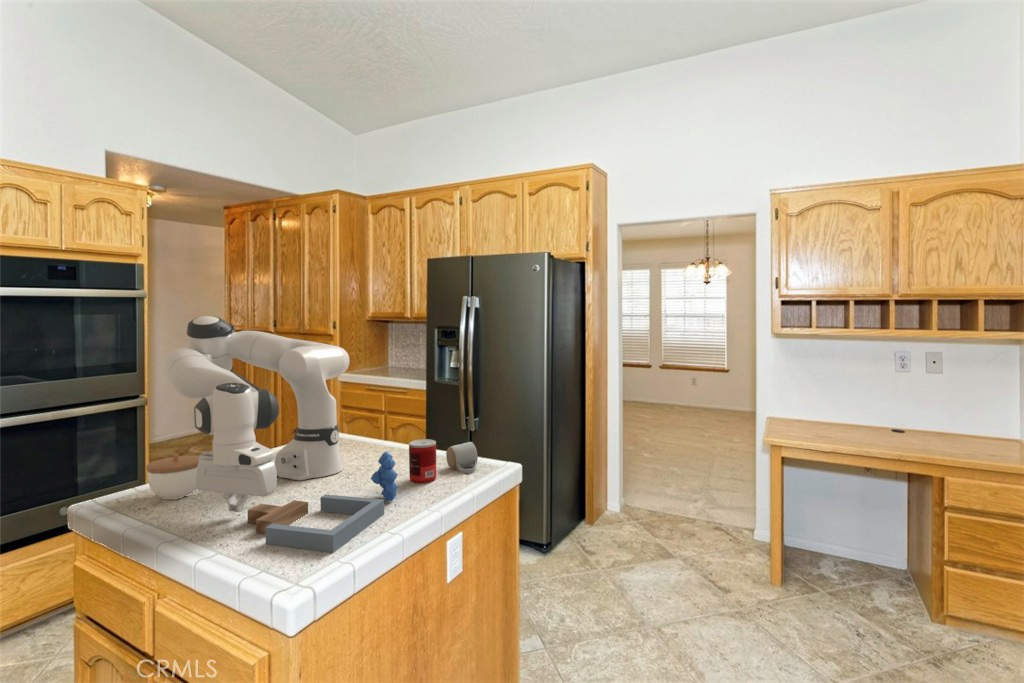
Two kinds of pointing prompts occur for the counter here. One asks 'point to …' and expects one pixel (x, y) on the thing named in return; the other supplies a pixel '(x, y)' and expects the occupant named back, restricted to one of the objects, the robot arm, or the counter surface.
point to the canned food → (422, 461)
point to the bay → (336, 537)
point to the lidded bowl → (173, 476)
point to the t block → (276, 514)
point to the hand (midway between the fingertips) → (236, 511)
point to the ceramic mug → (462, 457)
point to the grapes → (386, 476)
